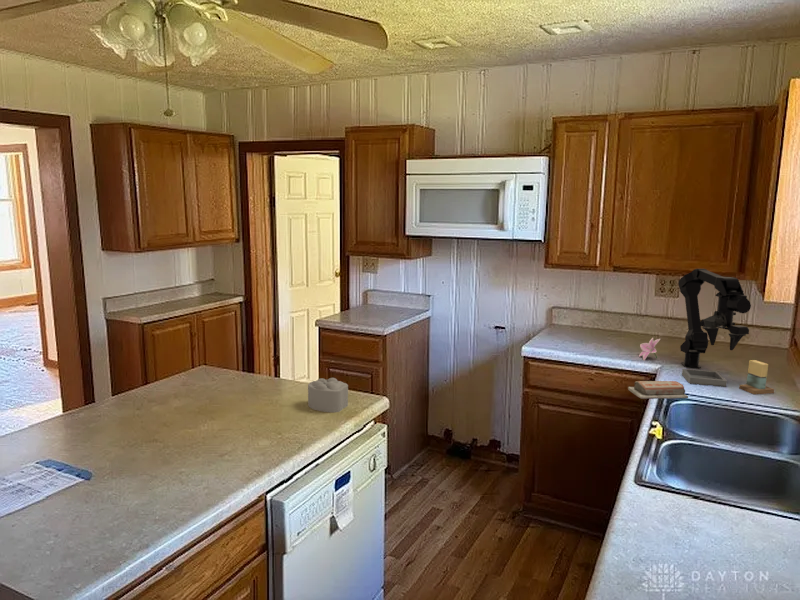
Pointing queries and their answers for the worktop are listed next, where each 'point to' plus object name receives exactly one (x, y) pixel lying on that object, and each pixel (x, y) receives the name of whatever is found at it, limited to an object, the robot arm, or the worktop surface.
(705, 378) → the stub tray
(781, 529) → the worktop surface
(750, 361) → the stub
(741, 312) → the robot arm
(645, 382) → the packaged product
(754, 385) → the ticket holder
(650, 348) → the lily
